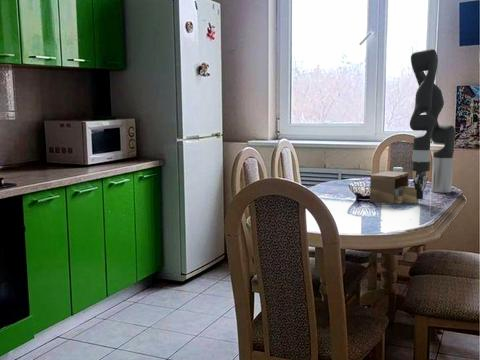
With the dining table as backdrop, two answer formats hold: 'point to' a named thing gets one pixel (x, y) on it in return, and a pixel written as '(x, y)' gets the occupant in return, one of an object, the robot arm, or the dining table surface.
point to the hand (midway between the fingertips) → (419, 198)
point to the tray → (405, 194)
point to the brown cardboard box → (386, 186)
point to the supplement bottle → (397, 169)
